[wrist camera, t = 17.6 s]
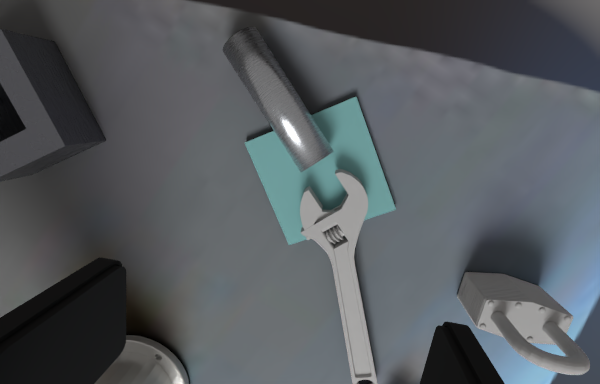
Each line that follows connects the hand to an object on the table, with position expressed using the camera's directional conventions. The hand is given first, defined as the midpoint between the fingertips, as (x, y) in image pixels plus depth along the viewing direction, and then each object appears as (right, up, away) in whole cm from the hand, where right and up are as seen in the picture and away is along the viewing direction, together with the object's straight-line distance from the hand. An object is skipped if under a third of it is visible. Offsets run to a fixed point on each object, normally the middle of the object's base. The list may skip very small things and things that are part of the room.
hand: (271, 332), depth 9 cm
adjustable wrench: (+5, -6, +24) cm, 25 cm away
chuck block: (-25, +12, +23) cm, 36 cm away
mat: (+3, +6, +21) cm, 22 cm away
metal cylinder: (+2, +7, +18) cm, 20 cm away
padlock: (+20, -6, +22) cm, 31 cm away
